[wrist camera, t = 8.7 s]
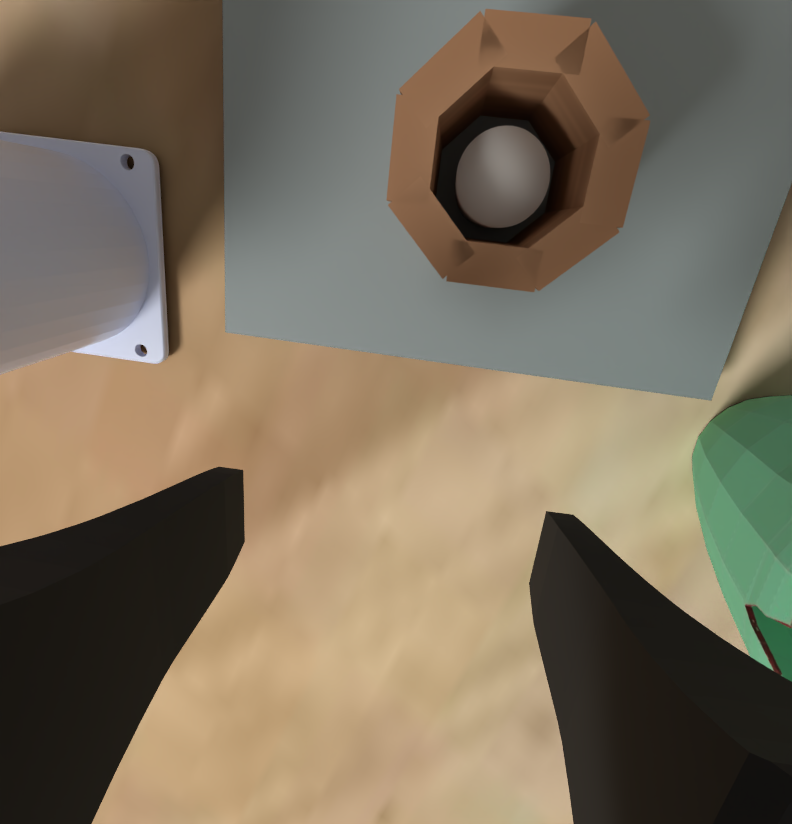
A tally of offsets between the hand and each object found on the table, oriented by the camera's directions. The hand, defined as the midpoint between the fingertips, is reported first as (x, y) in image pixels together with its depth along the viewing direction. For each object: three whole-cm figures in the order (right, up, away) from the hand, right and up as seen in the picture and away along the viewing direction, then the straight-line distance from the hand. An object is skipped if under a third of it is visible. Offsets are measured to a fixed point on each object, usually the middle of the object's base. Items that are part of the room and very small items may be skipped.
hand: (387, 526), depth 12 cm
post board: (+3, +11, +6) cm, 12 cm away
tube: (+3, +10, +4) cm, 12 cm away
